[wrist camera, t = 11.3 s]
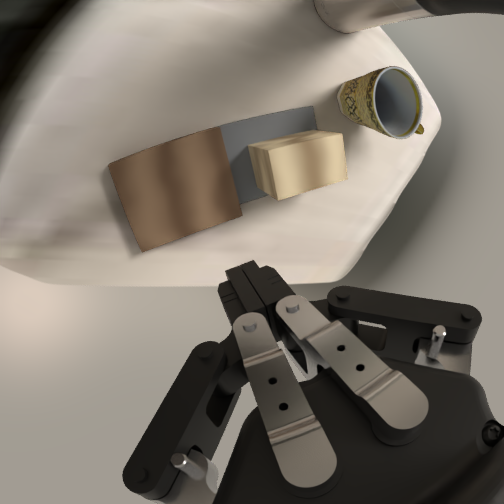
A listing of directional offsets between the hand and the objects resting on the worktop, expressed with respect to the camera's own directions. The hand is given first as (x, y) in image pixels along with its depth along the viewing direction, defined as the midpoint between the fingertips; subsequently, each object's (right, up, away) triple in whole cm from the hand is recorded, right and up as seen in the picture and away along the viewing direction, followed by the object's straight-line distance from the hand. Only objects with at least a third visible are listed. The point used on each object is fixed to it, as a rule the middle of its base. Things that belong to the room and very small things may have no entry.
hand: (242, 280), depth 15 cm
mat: (+4, +15, +23) cm, 28 cm away
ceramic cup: (+17, +24, +24) cm, 38 cm away
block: (+5, +14, +24) cm, 28 cm away
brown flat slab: (-9, +10, +21) cm, 25 cm away
